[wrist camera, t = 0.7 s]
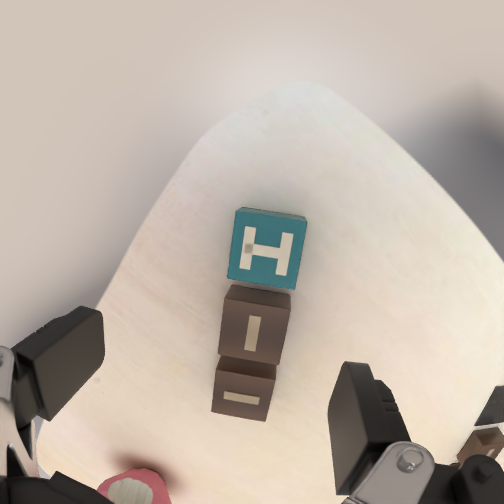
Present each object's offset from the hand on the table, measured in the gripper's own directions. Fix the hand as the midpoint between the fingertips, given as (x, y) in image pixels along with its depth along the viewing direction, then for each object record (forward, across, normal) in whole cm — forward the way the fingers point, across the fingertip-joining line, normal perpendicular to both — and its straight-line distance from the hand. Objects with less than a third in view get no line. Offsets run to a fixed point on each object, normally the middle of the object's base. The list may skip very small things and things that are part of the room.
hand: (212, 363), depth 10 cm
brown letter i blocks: (+15, -1, +8) cm, 17 cm away
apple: (+15, +9, +31) cm, 36 cm away
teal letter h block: (+15, -1, -1) cm, 15 cm away
